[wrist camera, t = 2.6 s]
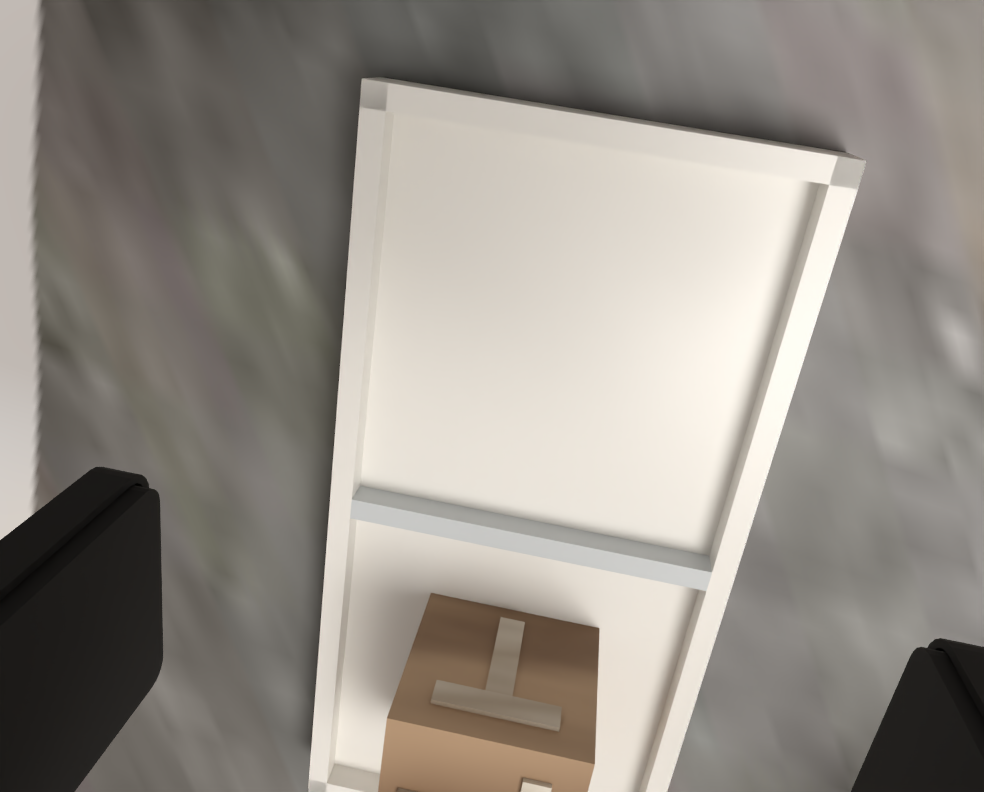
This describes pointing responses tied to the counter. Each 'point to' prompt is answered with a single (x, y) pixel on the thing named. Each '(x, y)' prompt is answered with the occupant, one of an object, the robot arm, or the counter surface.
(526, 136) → the tray
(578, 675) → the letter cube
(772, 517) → the counter surface
